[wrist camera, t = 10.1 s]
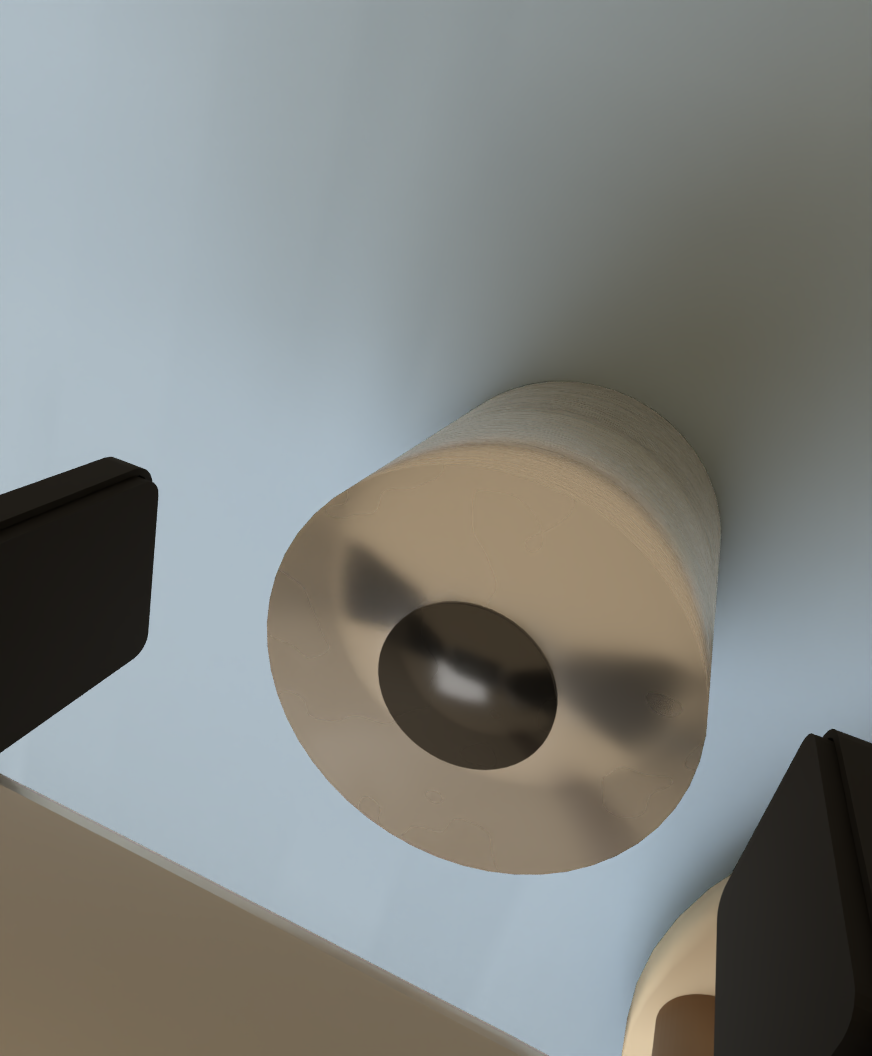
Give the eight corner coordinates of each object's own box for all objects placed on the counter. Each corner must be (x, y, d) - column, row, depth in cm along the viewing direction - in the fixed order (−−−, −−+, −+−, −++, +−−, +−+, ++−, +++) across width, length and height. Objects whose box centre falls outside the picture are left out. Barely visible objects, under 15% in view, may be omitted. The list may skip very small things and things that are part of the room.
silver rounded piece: (776, 445, 14) (798, 583, 9) (651, 709, 17) (605, 949, 11) (463, 339, 16) (303, 397, 10) (394, 599, 19) (236, 761, 13)
